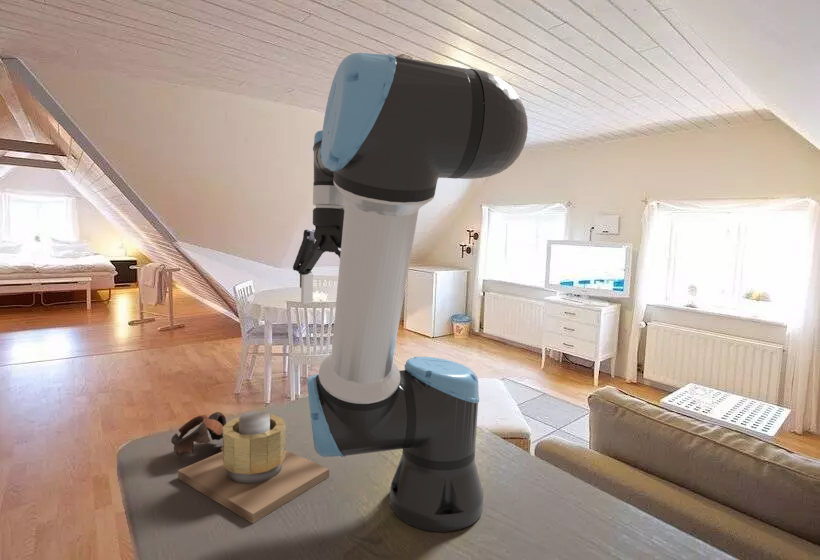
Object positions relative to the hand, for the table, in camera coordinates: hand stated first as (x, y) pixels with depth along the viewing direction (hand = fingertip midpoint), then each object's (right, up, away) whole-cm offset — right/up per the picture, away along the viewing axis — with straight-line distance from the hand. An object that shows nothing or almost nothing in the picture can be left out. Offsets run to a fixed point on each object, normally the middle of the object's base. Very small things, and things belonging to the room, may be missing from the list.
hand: (329, 307), depth 98 cm
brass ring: (-9, -25, -19) cm, 33 cm away
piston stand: (-10, -29, -19) cm, 36 cm away
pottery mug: (-22, -28, -10) cm, 37 cm away
